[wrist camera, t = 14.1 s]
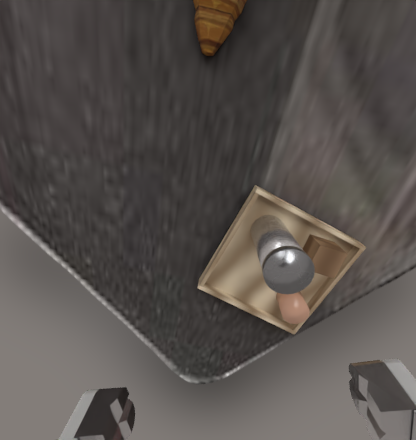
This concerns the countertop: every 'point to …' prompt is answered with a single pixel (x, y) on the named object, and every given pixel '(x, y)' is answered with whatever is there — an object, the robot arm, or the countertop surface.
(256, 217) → the wooden tray
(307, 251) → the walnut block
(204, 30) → the croissant
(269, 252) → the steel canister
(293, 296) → the pink rounded peg
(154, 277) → the countertop surface
